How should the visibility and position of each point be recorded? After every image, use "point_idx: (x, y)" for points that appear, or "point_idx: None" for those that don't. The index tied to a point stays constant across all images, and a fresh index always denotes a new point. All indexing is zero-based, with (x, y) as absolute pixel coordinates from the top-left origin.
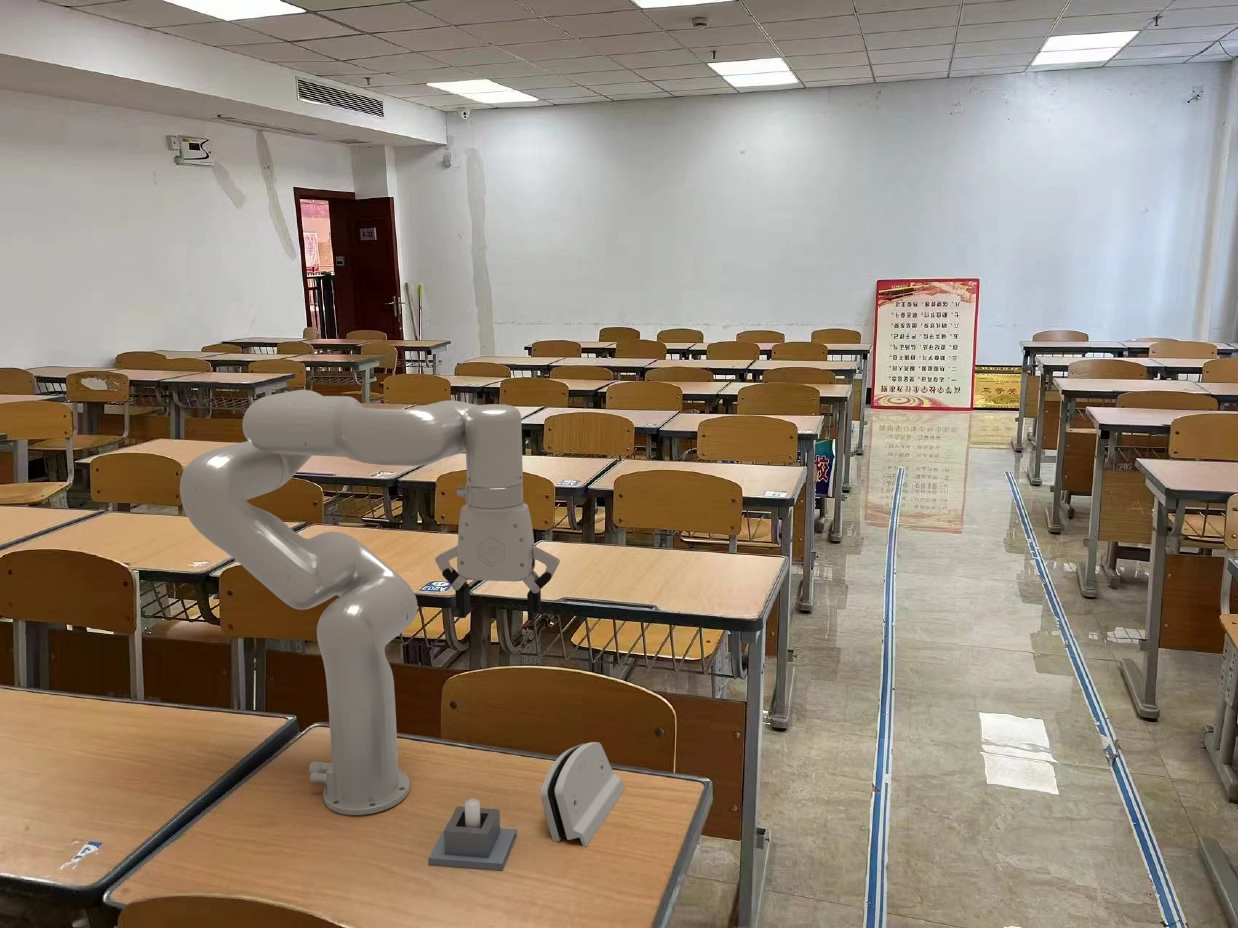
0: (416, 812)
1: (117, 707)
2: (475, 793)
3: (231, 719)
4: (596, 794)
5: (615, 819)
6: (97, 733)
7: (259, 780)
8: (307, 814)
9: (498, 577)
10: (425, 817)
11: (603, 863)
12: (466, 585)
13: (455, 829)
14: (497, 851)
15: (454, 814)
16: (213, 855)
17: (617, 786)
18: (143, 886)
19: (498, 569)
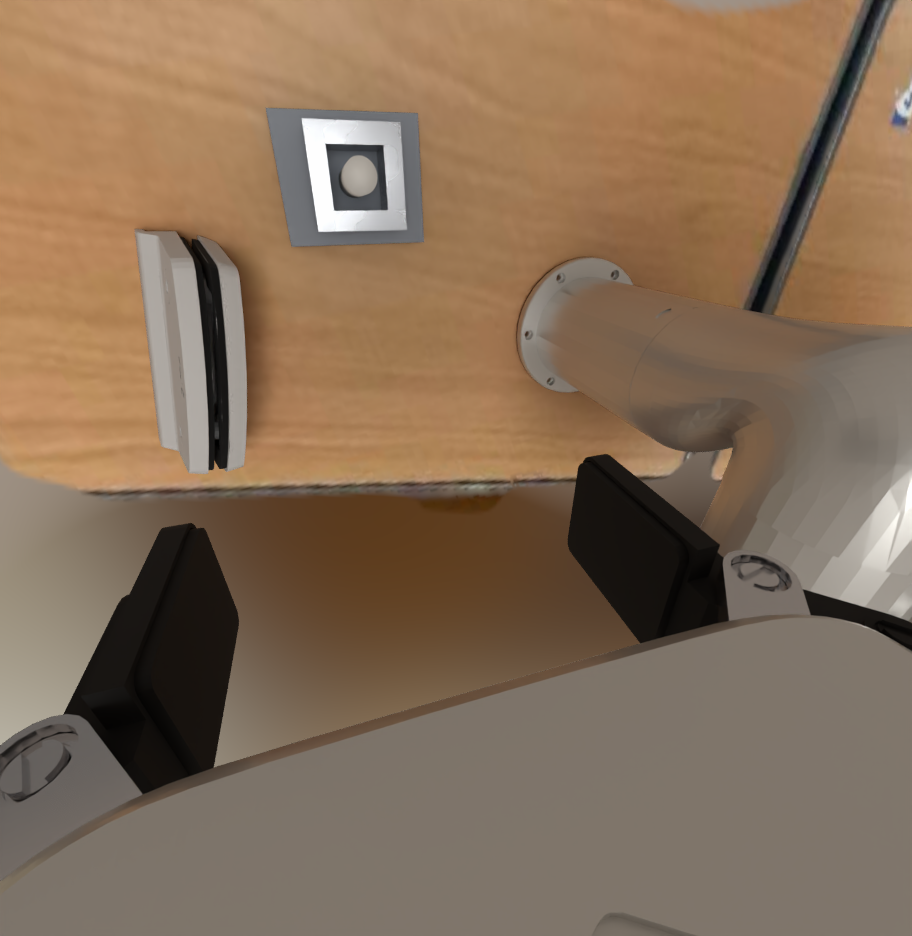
0: (488, 289)
1: None
2: (414, 364)
3: None
4: (171, 370)
5: (125, 336)
6: None
7: None
8: (645, 252)
9: (437, 742)
10: (470, 277)
11: (62, 168)
12: (673, 631)
13: (378, 131)
14: (295, 156)
15: (401, 195)
16: (752, 105)
17: (158, 421)
18: None
19: (471, 902)
